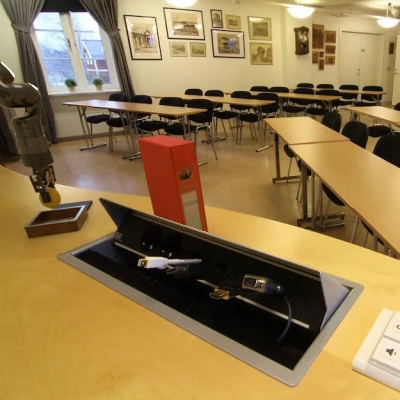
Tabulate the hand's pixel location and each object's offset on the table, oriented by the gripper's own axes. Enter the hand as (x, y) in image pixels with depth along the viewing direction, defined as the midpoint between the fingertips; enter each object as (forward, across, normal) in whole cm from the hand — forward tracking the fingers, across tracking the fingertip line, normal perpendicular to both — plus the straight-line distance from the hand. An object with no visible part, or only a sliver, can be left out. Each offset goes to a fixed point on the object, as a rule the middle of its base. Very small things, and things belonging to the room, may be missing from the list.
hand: (50, 199), depth 108 cm
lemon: (+4, 0, 0) cm, 4 cm away
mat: (+10, -16, 0) cm, 19 cm away
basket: (+10, 0, 0) cm, 10 cm away
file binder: (+10, +26, +40) cm, 48 cm away
